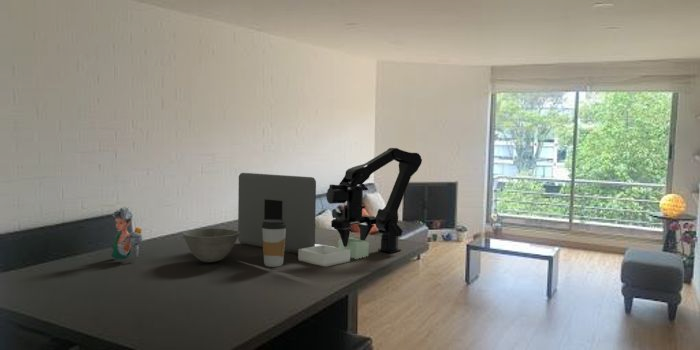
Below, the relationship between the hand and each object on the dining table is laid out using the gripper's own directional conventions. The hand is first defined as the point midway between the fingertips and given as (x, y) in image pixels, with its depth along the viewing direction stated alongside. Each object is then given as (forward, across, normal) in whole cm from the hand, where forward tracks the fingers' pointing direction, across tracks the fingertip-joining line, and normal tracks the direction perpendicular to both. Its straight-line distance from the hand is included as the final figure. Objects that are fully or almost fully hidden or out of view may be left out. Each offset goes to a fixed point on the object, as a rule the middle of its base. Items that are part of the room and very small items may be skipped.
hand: (353, 245), depth 197 cm
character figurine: (+4, +63, -50) cm, 81 cm away
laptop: (+5, +1, -30) cm, 30 cm away
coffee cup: (+4, +30, -9) cm, 32 cm away
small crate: (+4, 0, 0) cm, 4 cm away
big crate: (+4, +13, -2) cm, 14 cm away
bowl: (+4, +42, -28) cm, 51 cm away
